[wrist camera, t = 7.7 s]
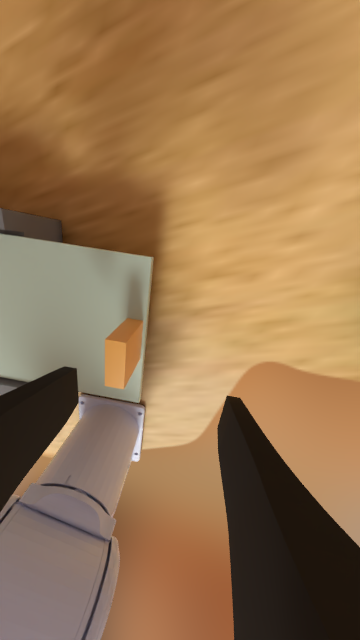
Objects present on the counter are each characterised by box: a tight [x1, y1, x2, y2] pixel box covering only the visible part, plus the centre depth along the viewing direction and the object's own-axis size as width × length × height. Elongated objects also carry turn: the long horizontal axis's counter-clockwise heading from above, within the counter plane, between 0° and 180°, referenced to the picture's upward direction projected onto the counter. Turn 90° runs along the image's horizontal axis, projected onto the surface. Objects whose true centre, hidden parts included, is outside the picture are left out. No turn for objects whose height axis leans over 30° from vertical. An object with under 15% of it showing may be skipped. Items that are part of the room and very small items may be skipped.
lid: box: [0, 233, 154, 403], centre depth 13 cm, size 12×17×4 cm
